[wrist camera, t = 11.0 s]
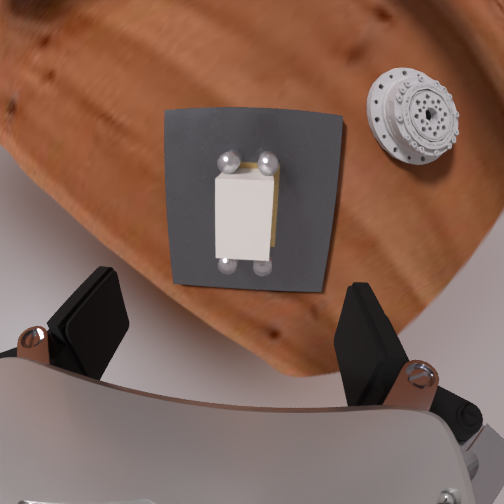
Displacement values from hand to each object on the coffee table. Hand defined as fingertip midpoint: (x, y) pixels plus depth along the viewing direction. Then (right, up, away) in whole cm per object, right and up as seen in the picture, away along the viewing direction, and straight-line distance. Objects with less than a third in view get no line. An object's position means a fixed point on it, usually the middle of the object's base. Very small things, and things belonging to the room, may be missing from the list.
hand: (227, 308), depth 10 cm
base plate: (+1, +7, +16) cm, 17 cm away
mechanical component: (+17, +16, +11) cm, 26 cm away
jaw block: (+1, +7, +14) cm, 16 cm away
